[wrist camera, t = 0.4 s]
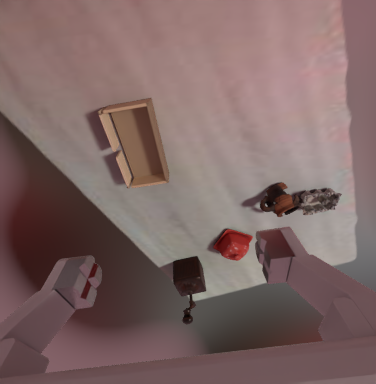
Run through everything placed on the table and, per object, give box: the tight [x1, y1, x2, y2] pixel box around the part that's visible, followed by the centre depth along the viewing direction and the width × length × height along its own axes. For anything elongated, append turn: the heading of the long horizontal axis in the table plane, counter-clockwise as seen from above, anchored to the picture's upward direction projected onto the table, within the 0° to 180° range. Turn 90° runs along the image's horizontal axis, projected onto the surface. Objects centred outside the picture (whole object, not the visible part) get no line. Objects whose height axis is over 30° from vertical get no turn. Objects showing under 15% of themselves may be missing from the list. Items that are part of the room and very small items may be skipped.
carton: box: [103, 98, 169, 188], centre depth 50 cm, size 20×10×5 cm, turn 9°
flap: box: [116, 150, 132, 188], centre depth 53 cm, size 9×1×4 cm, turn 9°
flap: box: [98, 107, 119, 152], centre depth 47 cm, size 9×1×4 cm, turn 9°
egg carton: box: [300, 188, 342, 215], centre depth 63 cm, size 11×8×4 cm
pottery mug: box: [260, 183, 301, 217], centre depth 62 cm, size 12×9×8 cm
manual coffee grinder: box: [173, 256, 206, 324], centre depth 77 cm, size 16×11×18 cm
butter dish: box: [213, 229, 253, 261], centre depth 72 cm, size 12×12×8 cm
